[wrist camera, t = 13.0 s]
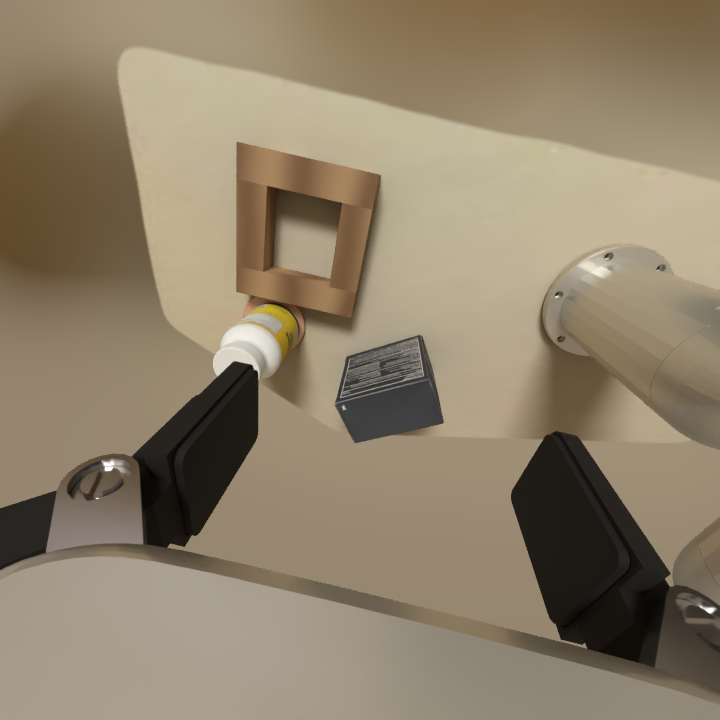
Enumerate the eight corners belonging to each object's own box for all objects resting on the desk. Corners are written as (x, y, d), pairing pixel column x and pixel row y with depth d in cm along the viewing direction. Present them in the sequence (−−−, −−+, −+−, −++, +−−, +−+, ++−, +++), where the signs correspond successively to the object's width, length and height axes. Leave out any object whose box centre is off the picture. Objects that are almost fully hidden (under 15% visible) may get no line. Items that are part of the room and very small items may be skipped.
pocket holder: (380, 175, 32) (379, 174, 29) (354, 308, 39) (350, 317, 36) (249, 145, 32) (236, 141, 29) (247, 284, 39) (236, 291, 36)
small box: (362, 394, 45) (353, 447, 36) (344, 355, 42) (330, 402, 33) (435, 375, 42) (445, 427, 33) (421, 332, 40) (429, 377, 30)
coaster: (308, 300, 39) (307, 302, 38) (301, 355, 43) (300, 357, 42) (245, 286, 39) (243, 287, 38) (244, 342, 43) (242, 344, 42)
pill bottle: (278, 356, 43) (241, 408, 32) (242, 321, 41) (190, 365, 30) (311, 327, 40) (282, 374, 30) (274, 289, 38) (229, 325, 28)
